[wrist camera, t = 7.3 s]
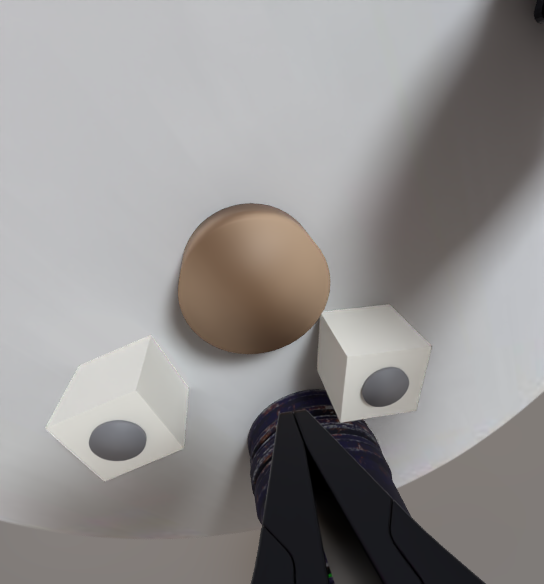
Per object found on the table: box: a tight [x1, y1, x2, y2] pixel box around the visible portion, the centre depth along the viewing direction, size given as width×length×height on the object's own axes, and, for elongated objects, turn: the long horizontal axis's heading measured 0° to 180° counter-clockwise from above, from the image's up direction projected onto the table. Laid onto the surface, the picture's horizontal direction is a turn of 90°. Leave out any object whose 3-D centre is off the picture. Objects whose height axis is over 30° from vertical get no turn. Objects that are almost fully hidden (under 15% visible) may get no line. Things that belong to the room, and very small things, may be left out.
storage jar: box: [248, 389, 410, 584], centre depth 21 cm, size 10×10×15 cm
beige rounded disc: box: [178, 203, 330, 354], centre depth 19 cm, size 8×8×3 cm
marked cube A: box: [317, 304, 432, 423], centre depth 21 cm, size 5×5×5 cm
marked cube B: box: [45, 335, 189, 482], centre depth 20 cm, size 5×5×5 cm
